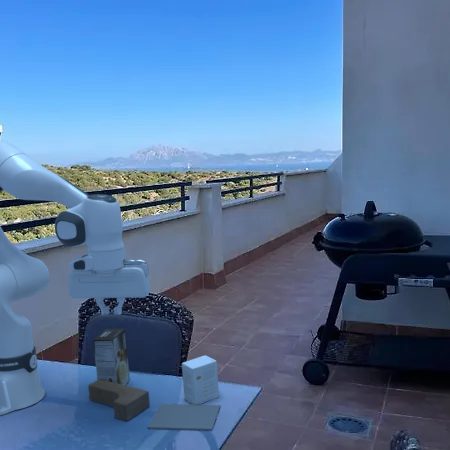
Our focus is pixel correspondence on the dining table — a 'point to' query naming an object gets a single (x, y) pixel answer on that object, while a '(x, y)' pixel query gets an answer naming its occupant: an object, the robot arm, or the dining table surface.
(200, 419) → the mat
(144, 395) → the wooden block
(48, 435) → the dining table surface
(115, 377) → the coffee box
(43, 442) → the dining table surface
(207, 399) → the small box
